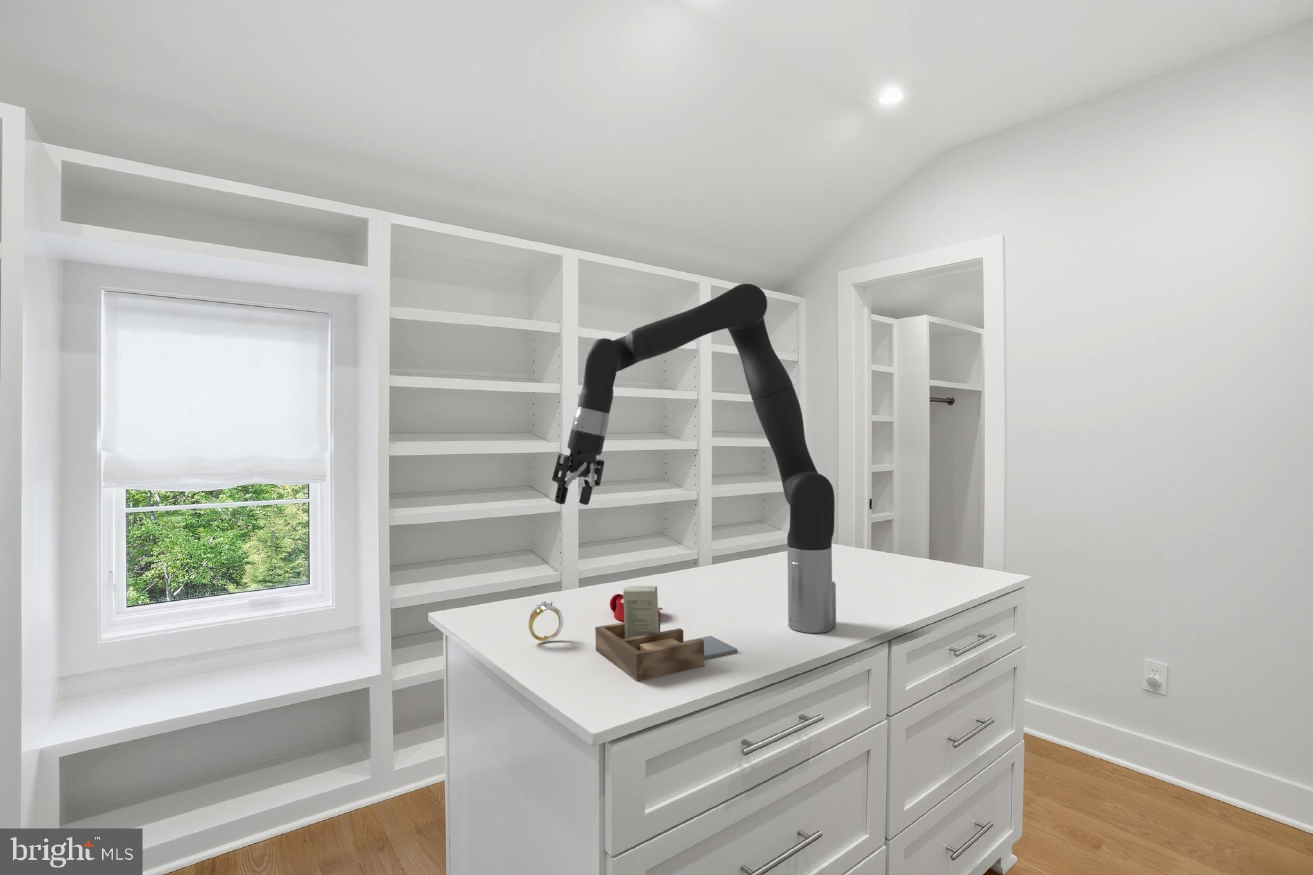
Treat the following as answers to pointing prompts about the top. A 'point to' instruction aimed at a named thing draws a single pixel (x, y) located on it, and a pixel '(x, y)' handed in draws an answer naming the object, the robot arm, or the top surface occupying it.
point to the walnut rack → (648, 652)
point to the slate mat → (715, 647)
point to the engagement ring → (537, 612)
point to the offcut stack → (657, 644)
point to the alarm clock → (620, 607)
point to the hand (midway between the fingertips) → (572, 503)
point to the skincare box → (640, 610)
